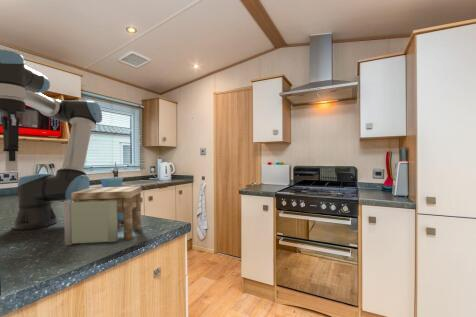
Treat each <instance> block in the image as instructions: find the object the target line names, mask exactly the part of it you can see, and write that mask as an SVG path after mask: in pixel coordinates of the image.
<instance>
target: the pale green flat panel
mask: <svg viewBox="0 0 476 317" xmlns="http://www.w3.org/2000/svg"><path fill="white" fill-rule="evenodd" d="M63 215H64V216H63V217H64V219H63V220H64V222H63V223H64V225H63V226H64V227H63V228H64V246H72V245H73V244H82V243H83V244H85V243H86V244H87V243H88V244H89V243H104V242H105V243H106V242H107V243H114V242H117V241H119V240H118V238H119V237H118V234H119V233H118V221H117V200H112V201H90V202H73V201H71V200H70V201H63Z"/></svg>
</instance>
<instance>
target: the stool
mask: <svg viewBox="0 0 476 317" xmlns="http://www.w3.org/2000/svg"><path fill="white" fill-rule="evenodd" d="M142 191H143V190H142V185H141V186H137V185H136V186H122V187H102V186H101V187H89V188H88V189H85V190H81V191H77V192H73V193H71V200H73V201H72V202H90V201H112V200H117V213H123V219H122V221H123V223H124V225H123V240H124V241H131V240H133V239H134V238H133V235H134V234H133V231H134V232H136V231H137V232H138V231H141V230H142V203H141V202H142V195H141V193H142ZM132 209H133V224H132Z"/></svg>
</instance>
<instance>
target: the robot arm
mask: <svg viewBox="0 0 476 317" xmlns="http://www.w3.org/2000/svg"><path fill="white" fill-rule="evenodd" d="M50 86H51V82H50V80H49V78H48V77H47V76H46V75H44V74H42V73H41V72H39V71H38V70H37V71H36V70H35V69H32V68H31V67H28V66H27V65H26V64H25V58H24V57H23V55H22V54H20V53H18V52H16V51H12V50H7V49H0V113H1V112H2V113H3V115H2V116H1V117H0V122H1V126H2V135H3V136H2V138H3V139H2V141H3V150H2V151H3V152H4V160H5V172H18V171H19V169H18V167H19V165H18V152H19V150H20V149H19V148H20V146H19V142H20V141H19V136H20V134H19V133H20V132H19V131H20V130H19V129H20V117H18V114H25V113H26V106H28V107H30V108H32V109H35V110H37V111H39V112H40V114H42V115H43V116H46V117H47V118H50V119H53V120H57V121H60V122H63V123H69V124H70V125H71V129H70V132H69V136H68V139H67V140H68V142H67V144H66V149H65V153H64V157H63V162H62V166H61V168H58V169H57V170H56V174H55V175H52V173H51V172H45V173H38V174H31V175H30V174H29V175H23V176H20V177H18V180H17V193H18V194H17V198H18V199H17V200H18V202H17V203H18V210H17V214H16V215H15V218H14V220H13V229H14V230H19V231H21V230H32V229H39V228H44V227H49V226H51V225H54V224H57V222H58V216H57V213H56V211H55V209H54V207H53V202H64V201H70V200H71V193H73V192H77V191H81V190H85V189H88V188H90V178H89V176H87V172H85V171H84V169H85V163H86V158H87V154H88V148H89V145H90V144H89V143H90V139H91V135H92V130H93V129H96V126H97V125H96V124H99V123H101V122H102V120H103V113H102V109H101V106H100V105H99V103H98V102H97V101H94V100H88V99H87V100H69V99H67V100H65V99H64V100H63V99H58V98H55V97H52V96H51V97H50V96H47V95H44V93H46V92H47V91H48V90H49V89H50ZM71 201H72V202H73V200H71Z"/></svg>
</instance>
